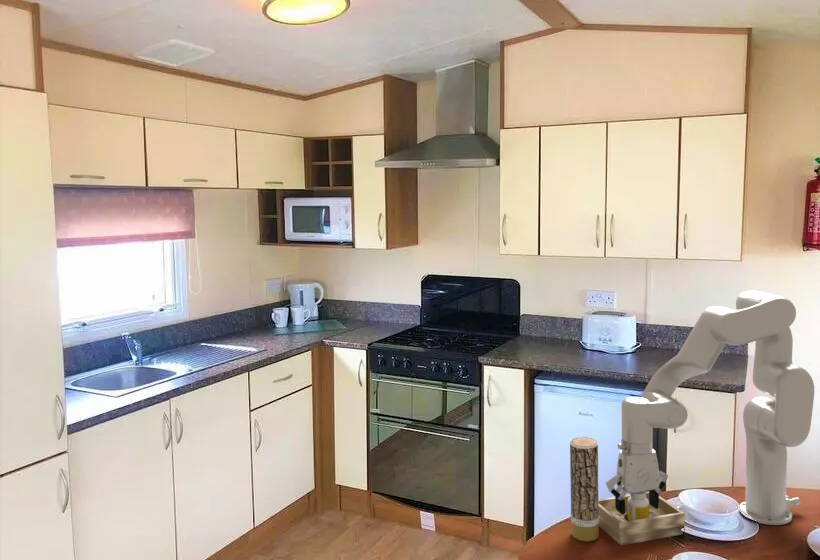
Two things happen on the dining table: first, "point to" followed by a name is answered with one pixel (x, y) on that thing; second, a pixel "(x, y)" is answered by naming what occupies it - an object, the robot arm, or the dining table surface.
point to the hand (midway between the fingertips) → (637, 509)
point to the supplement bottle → (637, 506)
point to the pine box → (640, 522)
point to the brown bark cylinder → (584, 488)
